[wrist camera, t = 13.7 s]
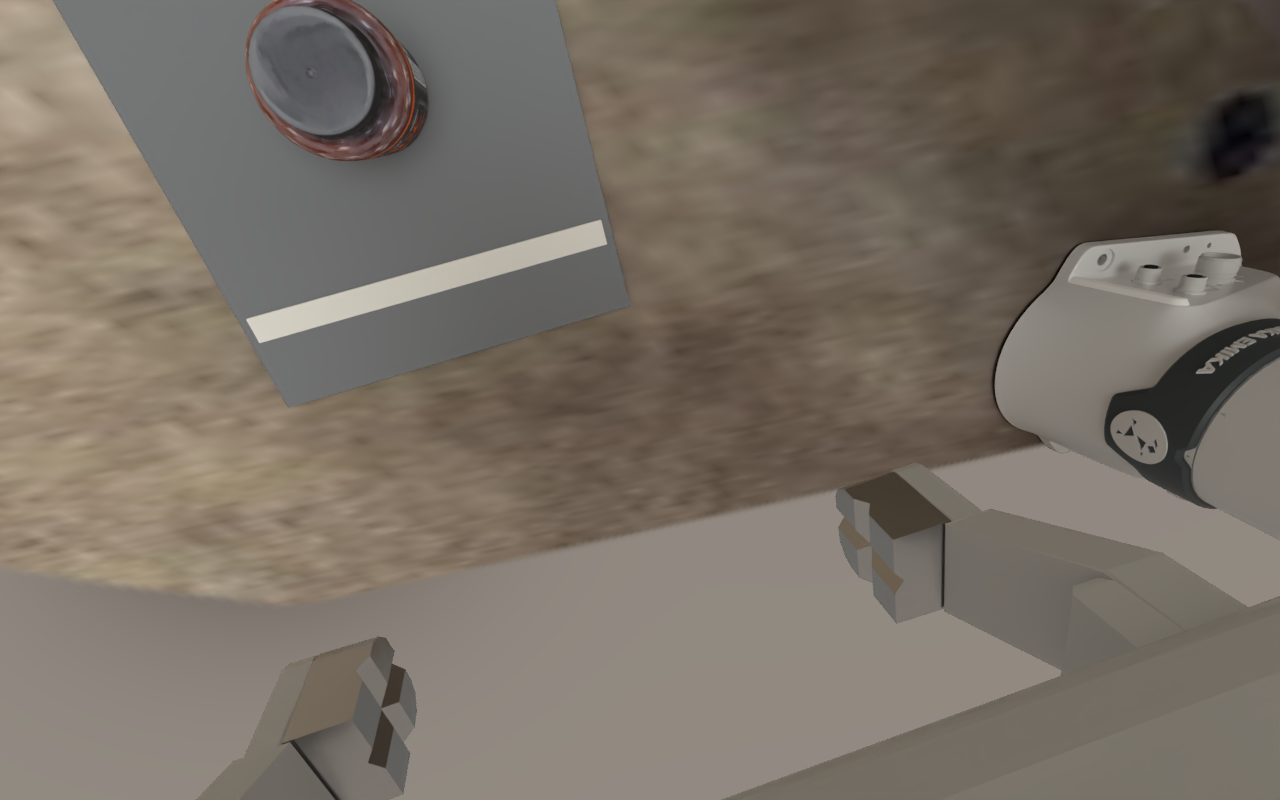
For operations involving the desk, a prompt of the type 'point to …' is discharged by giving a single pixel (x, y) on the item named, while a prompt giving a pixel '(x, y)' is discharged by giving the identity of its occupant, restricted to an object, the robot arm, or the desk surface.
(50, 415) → the desk surface
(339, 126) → the supplement bottle
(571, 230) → the mat
